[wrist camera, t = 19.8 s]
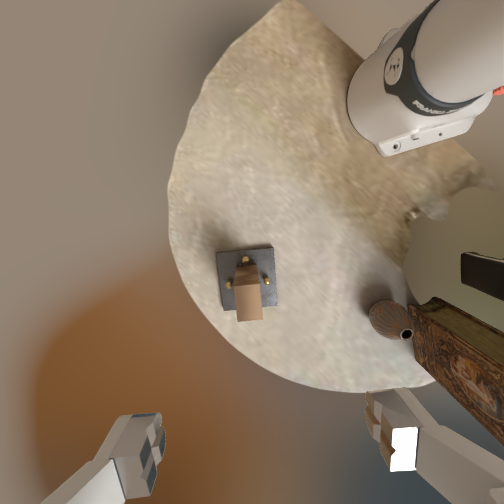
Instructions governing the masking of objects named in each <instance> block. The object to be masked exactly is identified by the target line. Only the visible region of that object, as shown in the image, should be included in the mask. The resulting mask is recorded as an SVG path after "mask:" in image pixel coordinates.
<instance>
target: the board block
mask: <svg viewBox="0 0 504 504" xmlns="http://www.w3.org/2000/svg"><path fill="white" fill-rule="evenodd" d="M234 294H235V302H236V311H237V320H238V322H240V321H251V320H261V319H263V315H262V303H261V292H260V282H259V276H258V270H257V265H250V266H239V267H236V272H235V280H234Z"/></svg>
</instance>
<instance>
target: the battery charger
mask: <svg viewBox="0 0 504 504" xmlns="http://www.w3.org/2000/svg"><path fill="white" fill-rule="evenodd" d="M461 282H462V283H463V284H465V285H468V286H471V287H473V288H475V289H478V290H480V291H482V292H484V293H486V294H488V295H491V296H493V297H495V298H498V299H500V300H502V301H504V259H497V258H493V257H488V256H483V255H480V254H478V253H475V252H465V253H463V254H461Z"/></svg>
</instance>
